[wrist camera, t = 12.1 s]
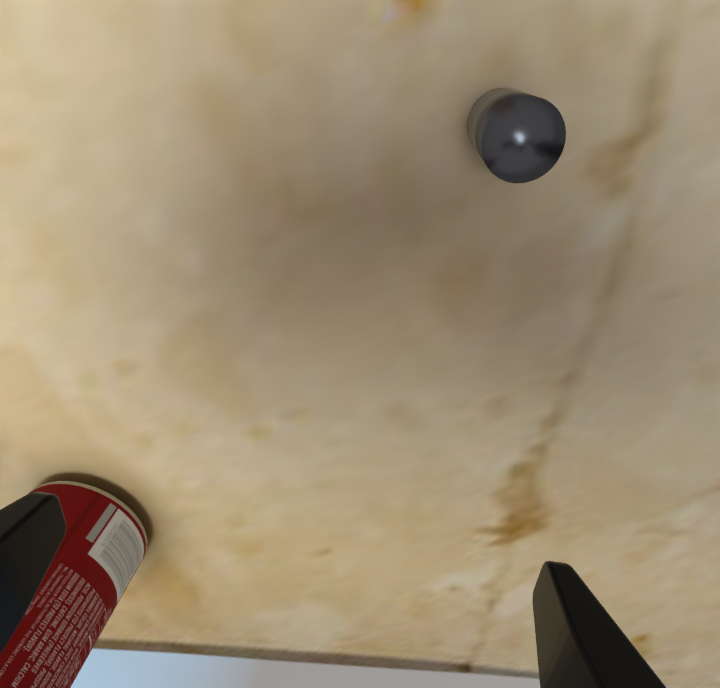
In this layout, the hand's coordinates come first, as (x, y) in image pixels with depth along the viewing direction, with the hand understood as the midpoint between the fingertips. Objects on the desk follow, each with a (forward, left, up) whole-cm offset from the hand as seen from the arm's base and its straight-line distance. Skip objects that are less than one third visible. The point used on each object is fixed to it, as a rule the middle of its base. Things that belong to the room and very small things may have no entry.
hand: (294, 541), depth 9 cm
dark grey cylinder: (-4, -6, -12) cm, 14 cm away
